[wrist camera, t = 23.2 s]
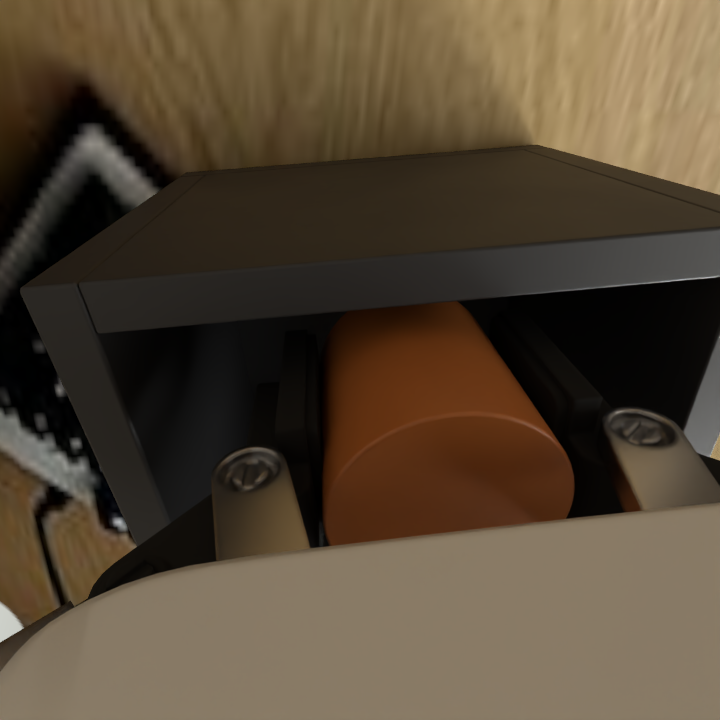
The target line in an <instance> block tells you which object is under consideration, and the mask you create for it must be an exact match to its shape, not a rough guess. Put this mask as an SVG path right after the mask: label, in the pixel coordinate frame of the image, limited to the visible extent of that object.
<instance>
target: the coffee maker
mask: <svg viewBox="0 0 720 720" xmlns="http://www.w3.org/2000/svg"><path fill="white" fill-rule="evenodd" d="M20 293H21V295H22V298H23V300H24V302H25V304H26V306H27V308H28V311H29V313H30V315H31V317H32V319H33V321H34V324H35V326H36V328H37V330H38V332H39V335H40V337H41V339H42V341H43V343H44V345H45V348H46V350H47V352H48V354H49V356H50V358H51V361H52V363H53V365H54V367H55V369H56V371H57V374H58V376H59V378H60V380H61V382H62V385H63V387H64V389H65V391H66V393H67V395H68V398H69V400H70V402H71V404H72V406H73V408H74V411H75V413H76V415H77V417H78V419H79V421H80V424H81V426H82V428H83V430H84V432H85V435H86V437H87V439H88V441H89V443H90V445H91V448H92V450H93V452H94V454H95V456H96V458H97V461H98V463H99V465H100V467H101V469H102V471H103V474H104V476H105V478H106V480H107V482H108V485H109V487H110V489H111V491H112V493H113V495H114V498H115V500H116V502H117V504H118V506H119V508H120V511H121V513H122V515H123V517H124V519H125V522H126V524H127V526H128V528H129V530H130V532H131V535H132V537H133V539H134V541H135V543H136V545H137V547H138V546H139V545H141V544H142V543H143V542H145V541H146V540H148V539H149V538H150V537H152V536H153V535H155V534H156V533H157V532H159V531H160V530H161V529H163V528H164V527H166V526H167V525H168V524H170V523H171V522H173V521H174V520H175V519H177V518H178V517H180V516H181V515H182V514H184V513H185V512H187V511H188V510H189V509H191V508H192V507H193V506H195V505H196V504H198V503H199V502H200V501H202V500H203V499H205V498H206V497H207V496H209V495H210V494H212V489H211V475H212V470H213V469H214V467H215V465H216V464H217V462H218V461H219V460H220V459H221V458H223V457H224V456H225V455H226V454H228V453H230V452H231V451H233V450H235V449H238V448H241V447H244V446H246V444H247V438H248V433H249V428H250V422H251V417H252V411H253V406H254V400H255V395H256V389H257V386H258V384H260V383H270V382H280V375H281V366H282V357H283V348H284V339H285V332H286V331H294V330H305V329H307V331H308V335H311V334H316V337H317V345H318V353H319V361H320V356H321V352H322V348H323V345H324V343H325V340H326V338H327V336H328V334H329V333H330V331H331V329H332V328H333V327H334V325H335V324H336V323H337V322H338V320H339V319H340V318H341V317H342V316H343V315H344V314H345V313H346V312H347V311H354V310H365V309H376V308H387V307H398V306H409V305H420V304H431V303H442V302H453V301H457V302H458V303H460V304H461V305H462V306H464V307H465V308H466V309H467V310H468V311H469V312H470V313H471V314H472V315H473V317H474V318H475V319H476V321H477V322H478V324H479V325H480V327H481V328H482V330H483V331H484V333H485V334H486V335H487V337H488V338H489V329H490V321H491V318H492V317H497V315H498V313H499V312H500V311H508V310H519V309H522V310H524V311H525V312H526V314H527V315H528V316H529V317H530V318H531V319H532V320H533V321H534V322H535V323H536V325H537V326H538V327H539V328H540V329H541V330H542V331H543V332H544V333H545V334H546V335H547V337H548V338H549V339H550V340H551V341H552V342H553V343H554V344H555V345H556V346H557V348H558V349H559V350H560V351H561V352H562V353H563V354H564V355H565V356H566V357H567V358H568V360H569V361H570V362H571V363H572V364H573V365H574V366H575V367H576V368H577V369H578V371H579V372H580V373H581V374H582V375H583V376H584V377H585V378H586V379H587V380H588V382H589V383H590V384H591V385H592V386H593V387H594V388H595V389H596V390H597V391H598V392H599V394H600V395H601V396H602V397H603V399H604V400H605V401H606V402H607V403H608V404H609V405H610V406H611V407H612V408H617V407H625V406H632V407H640V408H645V409H649V410H652V411H655V412H657V413H660V414H662V415H664V416H666V417H668V418H669V419H671V420H672V421H674V422H675V423H676V424H677V425H678V426H679V427H680V428H681V429H682V431H683V432H684V434H685V435H686V437H687V438H688V440H689V441H690V443H691V444H692V446H693V447H694V449H695V450H696V452H697V453H699V454H702V455H704V456H707V457H710V456H711V453H712V451H713V448H714V446H715V444H716V441H717V439H718V436H719V434H720V195H718V194H714V193H710V192H707V191H703V190H700V189H696V188H692V187H689V186H685V185H682V184H678V183H674V182H671V181H667V180H664V179H660V178H656V177H653V176H649V175H645V174H642V173H638V172H635V171H631V170H627V169H624V168H620V167H617V166H613V165H609V164H606V163H602V162H599V161H595V160H591V159H588V158H584V157H581V156H577V155H573V154H570V153H566V152H563V151H559V150H555V149H552V148H547V147H543V146H540V145H532V146H519V147H506V148H493V149H481V150H468V151H455V152H443V153H430V154H417V155H405V156H392V157H379V158H367V159H354V160H341V161H328V162H316V163H303V164H290V165H278V166H265V167H252V168H240V169H227V170H214V171H202V172H189V173H185V174H184V175H182V176H181V177H179V178H178V179H176V180H175V181H173V182H172V183H171V184H169V185H168V186H166V187H165V188H163V189H162V190H161V191H159V192H158V193H156V194H155V195H153V196H152V197H150V198H149V199H148V200H146V201H145V202H143V203H142V204H140V205H139V206H138V207H136V208H135V209H133V210H132V211H130V212H129V213H128V214H126V215H125V216H123V217H122V218H120V219H119V220H117V221H116V222H115V223H113V224H112V225H110V226H109V227H107V228H106V229H105V230H103V231H102V232H100V233H99V234H97V235H96V236H94V237H93V238H92V239H90V240H89V241H87V242H86V243H84V244H83V245H82V246H80V247H79V248H77V249H76V250H74V251H73V252H72V253H70V254H69V255H67V256H66V257H64V258H63V259H61V260H60V261H59V262H57V263H56V264H54V265H53V266H51V267H50V268H49V269H47V270H46V271H44V272H43V273H41V274H40V275H38V276H37V277H36V278H34V279H33V280H31V281H30V282H28V283H27V284H26V285H24V286H23V287H21V289H20ZM327 546H330V545H329V543H328V541H327V539H326V536H325V535H323V547H327Z"/></svg>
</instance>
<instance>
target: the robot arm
mask: <svg viewBox="0 0 720 720" xmlns="http://www.w3.org/2000/svg"><path fill="white" fill-rule="evenodd" d="M489 340H490V341H491V343H492V344H493V346H494V347H495V349H496V350H497V352H498V353H499V355H500V356H501V358H502V359H503V360H504V362H505V363H506V365H507V366H508V368H509V369H510V371H511V372H512V374H513V375H514V377H515V378H516V380H517V381H518V383H519V384H520V385H521V387H522V388H523V390H524V391H525V393H526V394H527V396H528V397H529V399H530V400H531V402H532V403H533V405H534V406H535V408H536V409H537V411H538V412H539V413H540V415H541V416H542V418H543V419H544V421H545V422H546V424H547V425H548V427H549V428H550V430H551V431H552V433H553V434H554V436H555V437H556V438H557V440H558V441H559V443H560V444H561V446H562V447H563V449H564V450H565V452H566V453H567V455H568V458H569V460H570V462H571V465H572V469H573V473H574V488H575V490H574V496H573V502H572V505H571V508H570V511H569V514H568V516H567V517H566V519H561V520H552V521H543V522H534V523H525V524H516V525H507V526H499V527H490V528H481V529H472V530H463V531H455V532H446V533H437V534H428V535H420V536H412V537H403V538H395V539H386V540H378V541H369V542H361V543H352V544H344V545H335V546H327V547H323V535H325V532H324V528H323V517H322V432H321V390H320V361H319V353H318V345H317V337H316V334H311V335H308V331H307V329H305V330H294V331H286V332H285V339H284V348H283V357H282V366H281V375H280V382H270V383H260V384H258V386H257V389H256V395H255V400H254V406H253V411H252V417H251V422H250V428H249V433H248V438H247V444H246V446H244V447H241V448H238V449H235V450H233V451H231V452H230V453H228V454H226V455H225V456H224V457H223V458H221V459H220V460H219V461H218V462H217V464H216V465H215V467H214V469H213V470H212V475H211V489H212V494H210V495H209V496H207V497H206V498H205V499H203V500H202V501H200V502H199V503H198V504H196V505H195V506H193V507H192V508H191V509H189V510H188V511H187V512H185V513H184V514H182V515H181V516H180V517H178V518H177V519H175V520H174V521H173V522H171V523H170V524H168V525H167V526H166V527H164V528H163V529H161V530H160V531H159V532H157V533H156V534H155V535H153V536H152V537H150V538H149V539H148V540H146V541H145V542H143V543H142V544H141V545H139V546H138V547H136V548H135V549H134V550H132V551H131V552H130V553H128V554H127V555H125V556H124V557H123V558H121V559H120V560H118V561H117V562H116V563H114V564H113V565H112V566H111V567H110V568H108V569H107V570H106V571H105V572H104V573H103V574H102V575H101V576H100V578H99V579H98V580H97V581H96V583H95V584H94V585H93V587H92V590H91V592H90V594H89V597H88V599H86V600H85V601H83V602H81V603H80V604H78V605H76V606H75V607H74V605H73V604H72V602H71V601H69V602H68V603H66V604H64V605H63V606H61V607H59V608H58V609H56V610H54V611H53V612H51V613H49V614H48V615H46V616H44V617H42V618H41V619H39V620H37V621H36V622H34V623H32V624H31V625H29V626H27V627H26V628H24V629H22V630H21V631H19V632H17V633H16V634H14V635H12V636H10V637H9V638H7V639H6V640H4V641H2V642H1V643H0V720H720V461H719V460H716V459H713V458H710V457H707V456H704V455H702V454H699V453H697V452H696V450H695V449H694V447H693V446H692V444H691V443H690V441H689V440H688V438H687V437H686V435H685V434H684V432H683V431H682V429H681V428H680V427H679V426H678V425H677V424H676V423H675V422H674V421H672V420H671V419H669V418H668V417H666V416H664V415H662V414H660V413H657V412H655V411H652V410H649V409H645V408H640V407H632V406H625V407H617V408H612V407H611V406H610V405H609V404H608V403H607V402H606V401H605V400H604V399H603V397H602V396H601V395H600V394H599V392H598V391H597V390H596V389H595V388H594V387H593V386H592V385H591V384H590V383H589V382H588V380H587V379H586V378H585V377H584V376H583V375H582V374H581V373H580V372H579V371H578V369H577V368H576V367H575V366H574V365H573V364H572V363H571V362H570V361H569V360H568V358H567V357H566V356H565V355H564V354H563V353H562V352H561V351H560V350H559V349H558V348H557V346H556V345H555V344H554V343H553V342H552V341H551V340H550V339H549V338H548V337H547V335H546V334H545V333H544V332H543V331H542V330H541V329H540V328H539V327H538V326H537V325H536V323H535V322H534V321H533V320H532V319H531V318H530V317H529V316H528V315H527V314H526V312H525V311H524V310H522V309H519V310H508V311H500V312H499V313H498V315H497V317H492V318H491V321H490V329H489Z"/></svg>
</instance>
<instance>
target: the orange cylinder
mask: <svg viewBox="0 0 720 720" xmlns="http://www.w3.org/2000/svg"><path fill="white" fill-rule="evenodd" d="M320 390H321V432H322V517H323V528H324V532H325V536H326V539H327V541H328V543H329V545H330V546H335V545H344V544H352V543H361V542H369V541H378V540H386V539H395V538H403V537H412V536H420V535H428V534H437V533H446V532H455V531H463V530H472V529H481V528H490V527H499V526H507V525H516V524H525V523H534V522H543V521H552V520H561V519H566V517H567V516H568V514H569V511H570V508H571V505H572V502H573V496H574V490H575V488H574V473H573V469H572V465H571V462H570V460H569V458H568V455H567V453H566V452H565V450H564V449H563V447H562V446H561V444H560V443H559V441H558V440H557V438H556V437H555V436H554V434H553V433H552V431H551V430H550V428H549V427H548V425H547V424H546V422H545V421H544V419H543V418H542V416H541V415H540V413H539V412H538V411H537V409H536V408H535V406H534V405H533V403H532V402H531V400H530V399H529V397H528V396H527V394H526V393H525V391H524V390H523V388H522V387H521V385H520V384H519V383H518V381H517V380H516V378H515V377H514V375H513V374H512V372H511V371H510V369H509V368H508V366H507V365H506V363H505V362H504V360H503V359H502V358H501V356H500V355H499V353H498V352H497V350H496V349H495V347H494V346H493V344H492V343H491V341H490V340H489V338H488V337H487V335H486V334H485V333H484V331H483V330H482V328H481V327H480V325H479V324H478V322H477V321H476V319H475V318H474V317H473V315H472V314H471V313H470V312H469V311H468V310H467V309H466V308H465V307H464V306H462V305H461V304H460V303H458V302H457V301H453V302H442V303H431V304H420V305H409V306H398V307H387V308H376V309H365V310H354V311H347V312H346V313H345V314H344V315H343V316H342V317H341V318H340V319H339V320H338V322H337V323H336V324H335V325H334V327H333V328H332V329H331V331H330V333H329V334H328V336H327V338H326V340H325V343H324V345H323V348H322V352H321V356H320Z"/></svg>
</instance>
